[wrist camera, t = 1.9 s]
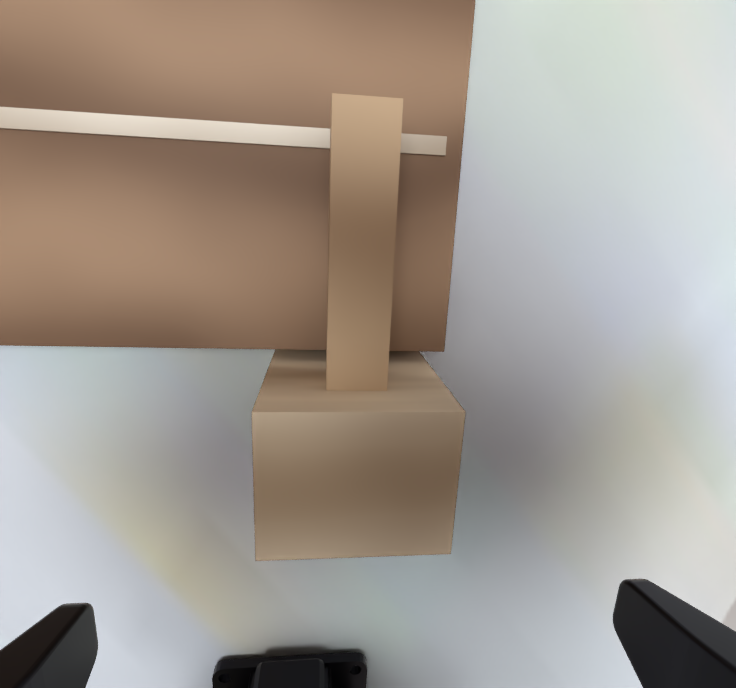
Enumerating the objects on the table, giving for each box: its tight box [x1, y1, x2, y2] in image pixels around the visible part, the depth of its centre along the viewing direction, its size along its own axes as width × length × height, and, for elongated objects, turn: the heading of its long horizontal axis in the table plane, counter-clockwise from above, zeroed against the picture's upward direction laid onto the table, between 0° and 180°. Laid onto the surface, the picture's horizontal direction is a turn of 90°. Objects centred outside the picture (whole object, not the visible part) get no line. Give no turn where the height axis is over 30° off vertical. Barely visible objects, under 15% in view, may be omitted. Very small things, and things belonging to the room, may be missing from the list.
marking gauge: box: [252, 93, 466, 561], centre depth 13 cm, size 11×5×6 cm, turn 178°
